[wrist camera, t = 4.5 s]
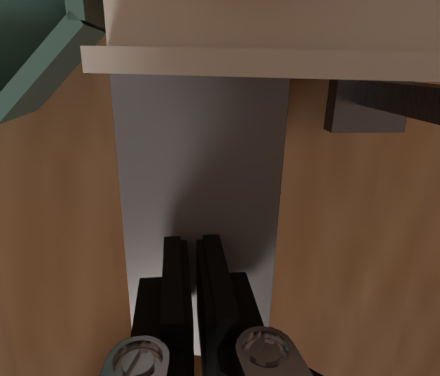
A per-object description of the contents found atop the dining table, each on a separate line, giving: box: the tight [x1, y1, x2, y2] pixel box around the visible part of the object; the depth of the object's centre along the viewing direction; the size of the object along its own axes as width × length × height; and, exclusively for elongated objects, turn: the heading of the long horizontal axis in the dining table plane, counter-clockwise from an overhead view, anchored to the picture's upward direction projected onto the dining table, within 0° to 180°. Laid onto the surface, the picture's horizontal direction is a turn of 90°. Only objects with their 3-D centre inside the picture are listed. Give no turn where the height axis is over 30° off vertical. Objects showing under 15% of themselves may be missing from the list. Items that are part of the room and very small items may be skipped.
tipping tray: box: [80, 0, 440, 356], centre depth 9 cm, size 12×18×2 cm, turn 179°
